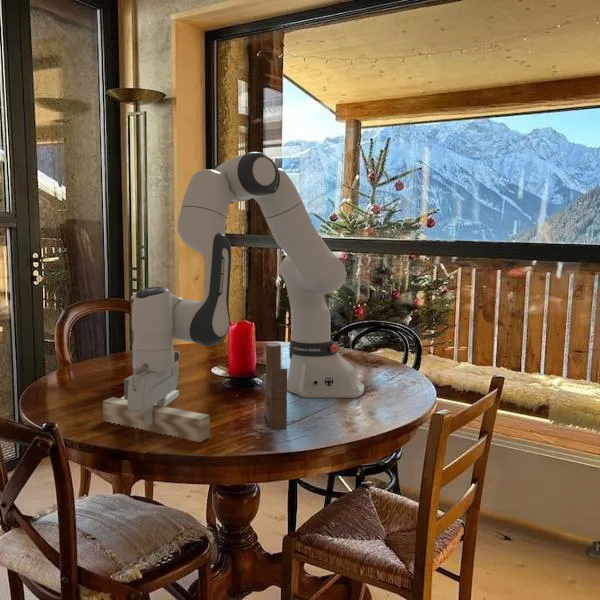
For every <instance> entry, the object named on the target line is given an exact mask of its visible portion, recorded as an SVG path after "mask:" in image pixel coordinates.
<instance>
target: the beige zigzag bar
mask: <svg viewBox="0 0 600 600" xmlns="http://www.w3.org/2000/svg"><path fill="white" fill-rule="evenodd" d="M121 398H122V397H116V396H115V397H114V396H113V397H110V398H107V399H104V400H102V418H103V419H102V421H103V422H104V421H106V422H105V423H108V422H111V423H110V424H113V423H115V424H114V425H118V424H120V425H119V426H122V425H125V426H124V427H127V426H130V427H129V428H132V427H134V428H133V429H136V428H139V429H138V430H141V429H143V430H142V431H146V430H147V432H150V431H151V433H155V432H156V433H155V434H160V433H161V434H160V435H164V434H167V435H166V436H169V435H172V436H171V437H174V436H176V437H175V438H178V437H180V438H179V439H183V438H184V439H183V440H188V441H192V442H198V443H201V442H202V443H203V441H205V440H208V439H209V438H210V437H211V436H210V435H211V432H210V431H211V426H210V425H211V424H210V420H211V419H210V416H211V415H210V414H205V413H201V412H194V411H190V410H184V409H179V408H175V407H174V408H172V407H170V406H169V407H168V406H165V407H164V406H158V405H153V409H152V414H153V415H154V422H153V423H152V424H150V425H149V424H145V423H144V416H143V413H142V412H131V411H129V409H128V400H126V399H121Z"/></svg>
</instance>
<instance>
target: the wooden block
mask: <svg viewBox="0 0 600 600" xmlns="http://www.w3.org/2000/svg"><path fill="white" fill-rule="evenodd" d="M281 348H282V347H281V344H279V343H268V344H266V345H265V401H264V403H263V405H264V411H263V412H264V416H265V419H266V421H267V423H268V425H269V428H271V430H274V431H275V430H286V429H287V428H288V427H287V426H288V400H287V398H288V391H287V379H288V369H287V368H281V366H282V365H281V364H282V363H281V362H282V352H281V351H282V349H281Z"/></svg>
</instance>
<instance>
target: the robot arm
mask: <svg viewBox="0 0 600 600" xmlns="http://www.w3.org/2000/svg"><path fill="white" fill-rule="evenodd" d="M251 199H254V200H255V202H257V204H258V205H259V207H260V210H261V213H262V215H263V217H264V219H265V222H266V224H267V225H268V228H269V230H270V232H271V234H272V237H273V238H274V241H275V243H276V245H278V246H279V247H280V248H281V249H282V251H283V252H285V254H286V256H285V257H284V258H283V260H282V261H281V263H280V269H279V270H280V275H281V277H282V279H283V281H284V283H285V286H286V287H285V288H286V290H287V291H286V292H287V295H288V301H289V306H290V315H291V316H290V318H291V319H290V320H291V321H290V322H291V329H290V330H291V332H290V333H291V334H290V335H291V339H290V340H289V346H288V347H289V348H288V351H289V352H288V353H289V355H288V356H289V359H290V361H289V369H288V370H289V371H288V373H287V392H288V393H292V394H296V395H298V396H299V397H301V398H312V399H313V398H317V399H319V398H322V399H323V398H325V399H327V398H331V399H332V398H334V399H335V398H337V399H338V398H339V399H340V398H341V399H344V398H350V399H351V398H359V397H361V396H362V395H364V393H365V385H364V384H363V383H362V382H361V381H358V377H357V372H356V369H355V367H354V366H353V365H352V364H351V363H349V362H348V361H347V360H346V359H344V358H343V357H342V356H341V355H340V354H339V353H338V349H339V347H338V342H337V341H333V340H332V339H331V327H332V325H331V323H332V322H331V320H332V319H331V318H332V315H331V311H330V309H329V307H328V305H327V303H326V300H325V294H330V293H334V292H336V291H338V290H339V289H341V287H343V285H344V283H345V280H346V279H347V277H346V276H347V271H346V267H345V265H344V263H343V262H342V261H341V260H340V259H339V257H337V256H336V255H335V254H334V253H333V251H332V250H331V249H330V248H329V247H328V244H327V243H326V242H325V241H324V239H323V238H322V236H321V234H319V232H318V231H317V229H316V227H315V225H314V224H313V222H312V220H311V218H310V215H309V213H308V211H307V209H306V207H305V204H304V201H303V200H302V197H301V195H300V193H299V192H298V189H297V188H296V186H295V184H294V183H293V181H292V179H291V177H290V176H289V175H288V174H287V172H286V171H285V170H283V169H282V168H280V167H278V166H277V164H276V163H275V162H274V160H273V159H272V158H271V157H270V156H269V155H268V154H266V153H264V152H260V151H259V152H258V151H250V152H247V153H245V154H241V155H237V156H233V157H231V158H230V159H228V160H226V161H224V162H221V163H219V164H216V165H215V166H214V167H213V168H211V169H207V168H205V169H200V170H197V171H196V172H194V173H193V175H192V177H191V178H190V180H189V183H188V184H187V188H186V189H185V193H184V196H183V199H182V203H181V205H180V210H179V214H178V219H177V233H178V235H179V237H180V239H181V240H182V242H183V243H184V244H185V245H186V246H187V247H188V248H190V249H191V250H193V251H195V252H197V254H198V253H199V254H200V255H201V257H203V258H204V261H205V263H206V264H205V265H206V273H205V285H204V286H205V287H204V296H203V298H202V300H193V299H186V298H182V297H179V296H177V295H175V294H174V293H171V292H170V289H169V288H167V287H165V286H149V287H146V288H141V289H140V290H138V291H137V292H136V293H135V295H134V296H135V297H134V301H133V307H132V328H131V331H132V330H133V333H134V343H133V367H132V369H133V368H134V369H135V371H134V372H135V373H134V375H133V374H132V375H133V376H132V377H131V378H130V380H129V384H128V409H129V411H131V412H142V413H143V416H144V423H145V424H149V425H150V424H152V423H153V422H154V415H153V414H152V409H153V405H154V404H155V403H156V405H158V406H165V402H166V395H168V394H169V393H170V392H172V391H173V390H176V389H177V387H178V383H179V382H178V381H179V363H178V362H179V361H180V357H181V354H180V351H178V350H174V343H173V340H179V341H184V342H191V343H195V344H197V345H198V344H199V345H202V346H206V347H214V346H216V345H218V344H219V343H220V342H222V340H224V338H225V337H226V336H227V335H228V333H229V331H230V325H231V318H230V317H231V315H230V306H229V305H230V303H229V302H230V285H231V274H232V273H231V271H232V270H231V269H232V245H231V242H230V239H229V238H228V237H227V236H226V229H225V228H226V227H225V226H226V221H227V220H226V219H227V216H228V215H227V214H228V209H229V206H230V204H235V203H240V202H246V201H249V200H251ZM165 407H166V406H165Z"/></svg>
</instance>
